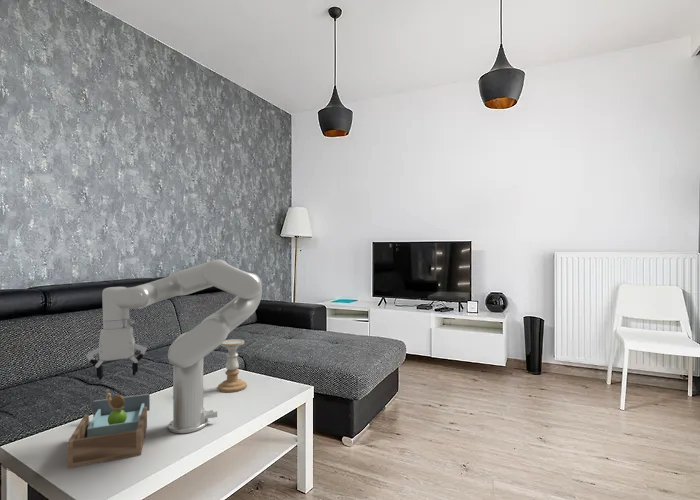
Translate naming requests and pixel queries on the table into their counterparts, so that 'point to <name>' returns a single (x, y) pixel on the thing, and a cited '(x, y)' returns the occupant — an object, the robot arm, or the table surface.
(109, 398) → the snail figurine
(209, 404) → the table surface
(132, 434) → the box
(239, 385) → the candle holder
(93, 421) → the tray
